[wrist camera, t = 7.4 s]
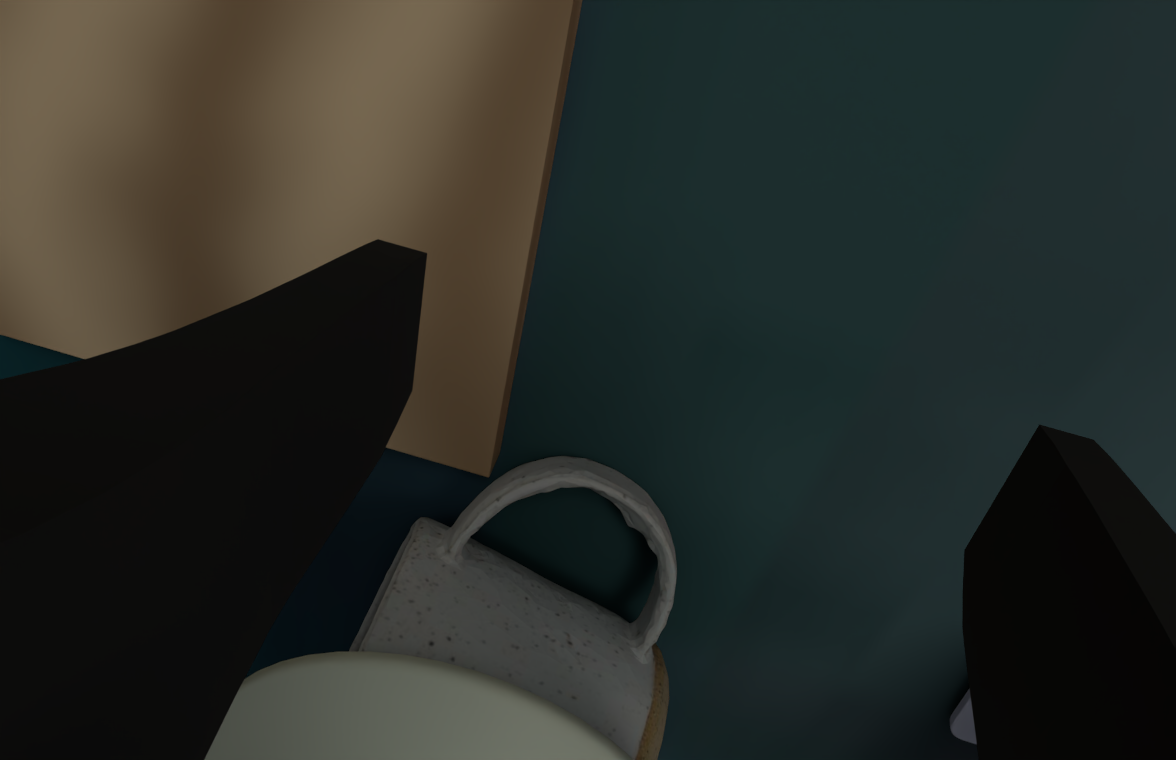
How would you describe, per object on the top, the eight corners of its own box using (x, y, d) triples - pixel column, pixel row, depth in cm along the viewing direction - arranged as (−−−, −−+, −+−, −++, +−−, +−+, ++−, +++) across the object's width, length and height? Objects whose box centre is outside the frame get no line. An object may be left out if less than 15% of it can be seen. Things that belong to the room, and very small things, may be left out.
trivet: (602, -112, 19) (591, -101, 18) (499, 453, 27) (488, 477, 26) (-101, -291, 20) (-142, -289, 19) (10, 310, 28) (-15, 329, 27)
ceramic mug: (596, 726, 33) (538, 969, 27) (364, 619, 32) (250, 843, 26) (759, 519, 27) (734, 771, 20) (477, 382, 26) (363, 599, 20)
